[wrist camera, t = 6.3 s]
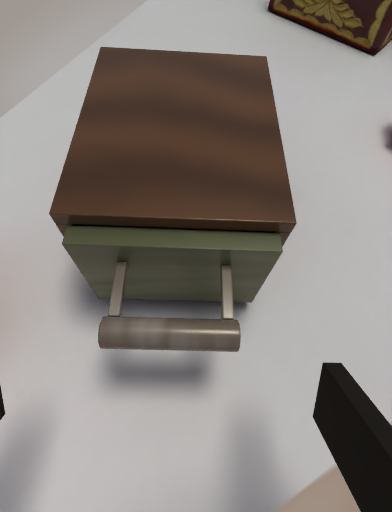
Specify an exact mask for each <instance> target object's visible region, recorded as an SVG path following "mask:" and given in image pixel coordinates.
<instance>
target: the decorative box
mask: <svg viewBox="0 0 392 512" xmlns="http://www.w3.org/2000/svg"><path fill="white" fill-rule="evenodd" d="M268 10H270V11H272V12H274V13H276V14H279V15H281V16H283V17H286V18H288V19H290V20H293V21H295V22H297V23H300V24H302V25H305V26H307V27H309V28H312V29H314V30H316V31H319V32H321V33H323V34H326V35H328V36H331V37H333V38H335V39H338V40H340V41H342V42H345V43H347V44H349V45H352V46H354V47H357V48H359V49H361V50H364V51H366V52H369V53H371V54H376V53H377V52H378V51H379V50H380V49H381V48H383V47H384V46H385V45H386V44H387V43H388V42H389V41H390V40H391V39H392V0H270V2H269V6H268Z"/></svg>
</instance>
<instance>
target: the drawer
mask: <svg viewBox="0 0 392 512" xmlns="http://www.w3.org/2000/svg"><path fill="white" fill-rule="evenodd" d="M62 245H63V246H64V248H65V249H66V251H67V252H68V254H69V255H70V256H71V258H72V259H73V261H74V262H75V264H76V265H77V267H78V268H79V270H80V271H81V273H82V274H83V276H84V277H85V279H86V280H87V282H88V283H89V285H90V286H91V288H92V289H93V291H94V292H95V294H96V295H97V296H98V298H111V299H110V306H109V312H108V316H109V317H108V316H105V317H103V318H102V320H101V322H100V326H99V332H98V342H99V347H100V348H102V349H142V350H185V351H228V352H237V351H239V348H240V325H239V322H238V320H233V319H234V310H233V302H252V301H253V299H254V298H255V296H256V294H257V293H258V291H259V290H260V288H261V286H262V285H263V283H264V281H265V280H266V278H267V276H268V275H269V273H270V272H271V270H272V268H273V267H274V265H275V263H276V262H277V260H278V259H279V257H280V255H281V254H282V252H283V250H282V243H281V236H280V233H260V232H255V231H247V230H220V229H194V228H167V227H140V226H114V225H96V226H72V225H67V227H66V231H65V235H64V238H63V242H62ZM124 299H150V300H185V301H219V302H221V318H222V320H219V319H182V318H145V317H121V315H122V308H123V300H124Z"/></svg>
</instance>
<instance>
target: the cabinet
mask: <svg viewBox="0 0 392 512" xmlns="http://www.w3.org/2000/svg"><path fill="white" fill-rule="evenodd" d="M49 214H50V216H51V217H52V219H53V221H54V222H55V223H56V225H57V227H58V228H59V230H60V232H61V233H62V235H63V236H64V235H65V231H66V227H67V225H72V226H96V225H114V226H140V227H167V228H194V229H220V230H247V231H255V232H260V233H280V236H281V243H282V246H283V245H284V243H285V241H286V240H287V238H288V236H289V235H290V233H291V232H292V230H293V228H294V227H295V225H296V218H295V212H294V207H293V201H292V196H291V190H290V184H289V179H288V173H287V168H286V162H285V157H284V151H283V146H282V140H281V135H280V129H279V124H278V118H277V113H276V107H275V102H274V96H273V90H272V85H271V79H270V74H269V68H268V63H267V57H266V56H250V55H233V54H216V53H198V52H181V51H164V50H146V49H129V48H112V47H101V48H100V51H99V54H98V58H97V61H96V64H95V67H94V71H93V74H92V77H91V80H90V83H89V87H88V90H87V93H86V96H85V100H84V103H83V106H82V109H81V112H80V116H79V119H78V122H77V125H76V129H75V132H74V135H73V138H72V141H71V145H70V148H69V151H68V154H67V158H66V161H65V164H64V167H63V170H62V174H61V177H60V180H59V183H58V187H57V190H56V193H55V196H54V199H53V203H52V206H51V209H50V212H49Z"/></svg>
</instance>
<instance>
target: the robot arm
mask: <svg viewBox="0 0 392 512" xmlns="http://www.w3.org/2000/svg"><path fill="white" fill-rule="evenodd" d="M4 415H5V410H4V404H3V399H2V393H1V387H0V420H1V419H2V417H3V416H4ZM313 418H314V420H315V422H316V424H317V426H318V428H319V430H320V432H321V434H322V436H323V438H324V440H325V442H326V444H327V446H328V448H329V450H330V452H331V454H332V456H333V458H334V460H335V462H336V464H337V466H338V467H339V469H340V471H341V473H342V475H343V477H344V479H345V481H346V483H347V485H348V487H349V489H350V491H351V493H352V495H353V497H354V499H355V501H356V503H357V505H358V507H359V509H360V511H361V512H392V426H391V425H390V424H389V422H388V421H387V420H386V419H385V417H384V416H383V415H382V414H381V412H380V411H379V410H378V409H377V407H376V406H375V405H374V404H373V402H372V401H371V400H370V399H369V397H368V396H367V395H366V394H365V392H364V391H363V390H362V389H361V387H360V386H359V385H358V384H357V382H356V381H355V380H354V378H353V377H352V376H351V375H350V373H349V372H348V371H347V370H346V368H345V367H344V366H343V365H342V363H323V365H322V370H321V376H320V381H319V386H318V392H317V397H316V402H315V408H314V413H313Z"/></svg>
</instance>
